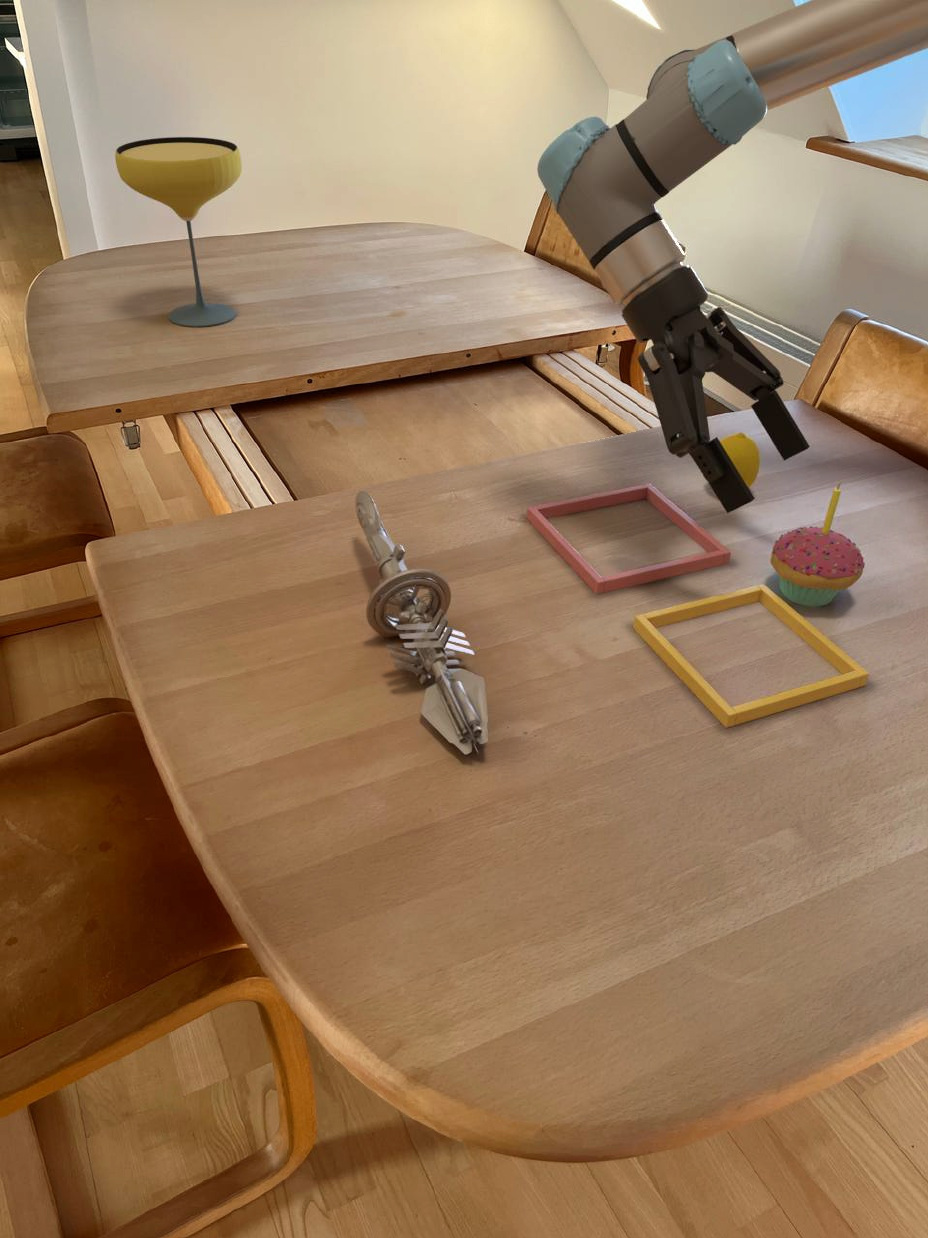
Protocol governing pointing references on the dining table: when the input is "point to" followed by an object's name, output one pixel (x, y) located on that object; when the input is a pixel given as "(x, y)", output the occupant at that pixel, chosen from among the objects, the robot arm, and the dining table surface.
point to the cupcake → (816, 561)
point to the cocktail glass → (183, 195)
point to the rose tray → (638, 576)
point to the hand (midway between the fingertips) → (770, 478)
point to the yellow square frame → (768, 705)
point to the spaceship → (424, 635)
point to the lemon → (743, 455)
